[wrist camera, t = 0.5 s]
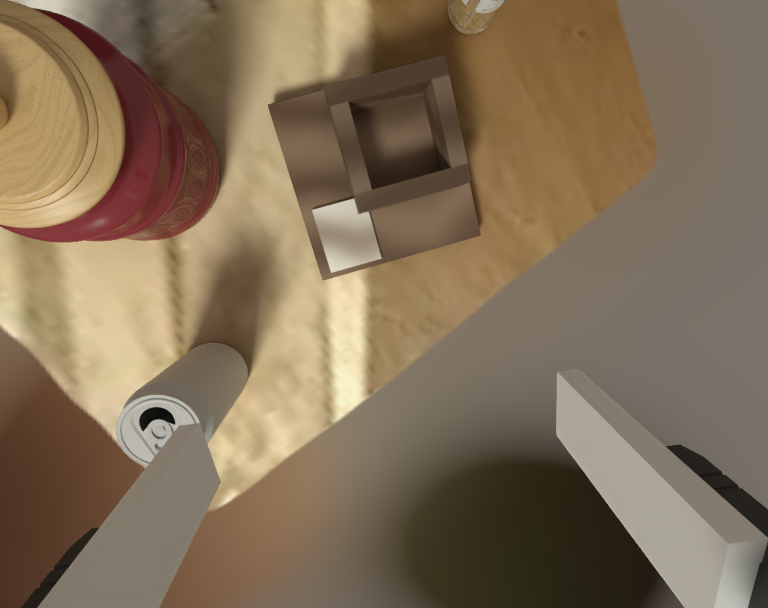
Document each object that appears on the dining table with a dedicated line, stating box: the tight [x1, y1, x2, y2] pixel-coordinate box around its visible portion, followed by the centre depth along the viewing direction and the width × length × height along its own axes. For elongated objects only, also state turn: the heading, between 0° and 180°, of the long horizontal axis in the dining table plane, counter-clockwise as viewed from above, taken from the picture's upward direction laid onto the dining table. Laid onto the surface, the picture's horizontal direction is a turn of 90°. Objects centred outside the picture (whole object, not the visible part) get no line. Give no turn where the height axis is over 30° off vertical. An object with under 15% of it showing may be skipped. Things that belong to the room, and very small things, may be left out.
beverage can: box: [116, 343, 248, 466], centre depth 31 cm, size 6×6×12 cm
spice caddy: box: [268, 55, 481, 280], centre depth 33 cm, size 16×16×5 cm
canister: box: [0, 0, 220, 242], centre depth 24 cm, size 13×13×18 cm
